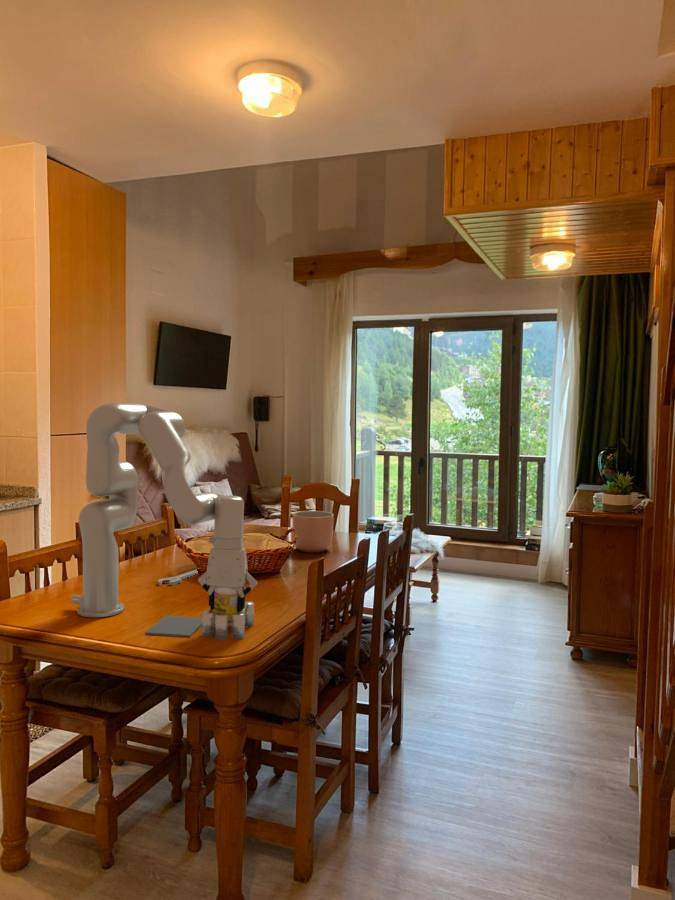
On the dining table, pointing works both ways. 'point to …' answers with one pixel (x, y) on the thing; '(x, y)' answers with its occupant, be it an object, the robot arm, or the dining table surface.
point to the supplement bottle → (226, 601)
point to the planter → (313, 530)
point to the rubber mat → (176, 626)
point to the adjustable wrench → (177, 578)
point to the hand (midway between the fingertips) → (226, 609)
